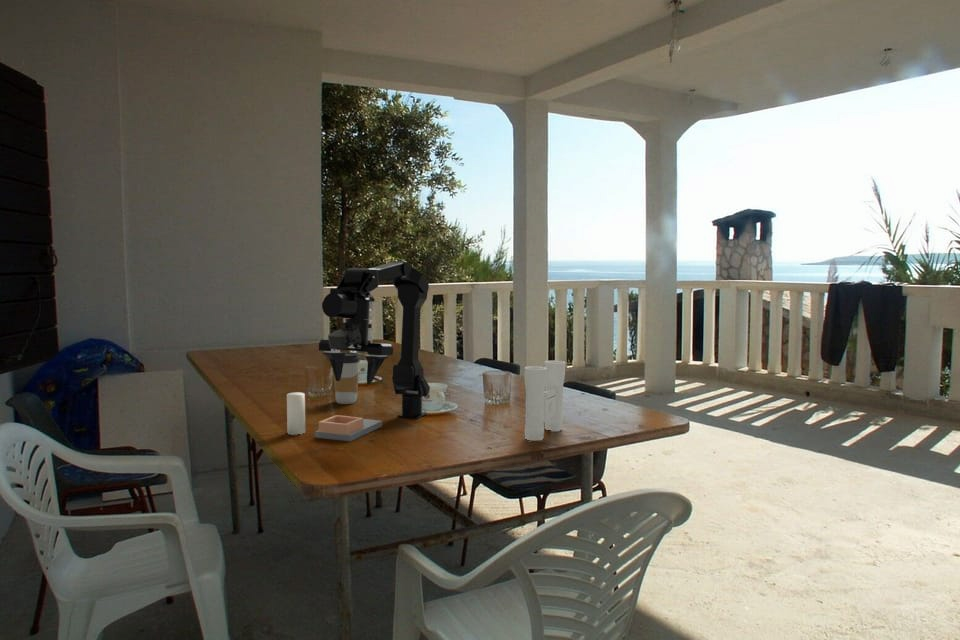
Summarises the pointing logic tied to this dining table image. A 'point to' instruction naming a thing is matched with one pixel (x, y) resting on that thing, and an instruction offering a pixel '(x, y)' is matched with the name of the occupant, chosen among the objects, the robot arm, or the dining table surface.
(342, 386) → the coffee cup
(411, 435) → the dining table surface
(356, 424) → the candle stand
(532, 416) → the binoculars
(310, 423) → the dining table surface
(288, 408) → the candle
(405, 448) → the dining table surface
